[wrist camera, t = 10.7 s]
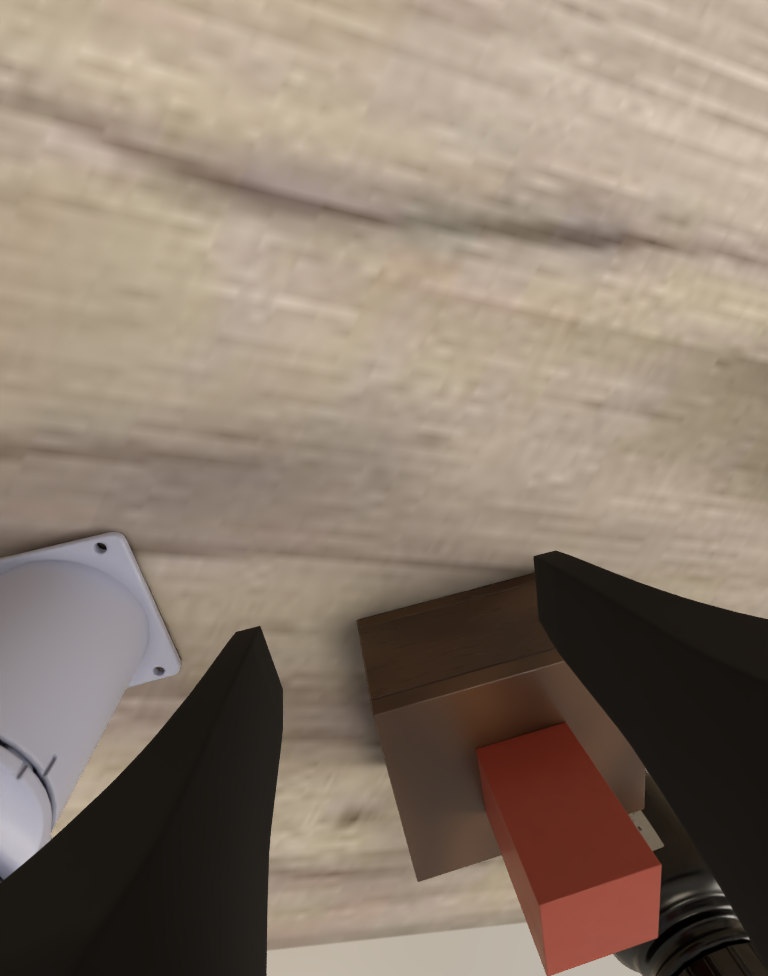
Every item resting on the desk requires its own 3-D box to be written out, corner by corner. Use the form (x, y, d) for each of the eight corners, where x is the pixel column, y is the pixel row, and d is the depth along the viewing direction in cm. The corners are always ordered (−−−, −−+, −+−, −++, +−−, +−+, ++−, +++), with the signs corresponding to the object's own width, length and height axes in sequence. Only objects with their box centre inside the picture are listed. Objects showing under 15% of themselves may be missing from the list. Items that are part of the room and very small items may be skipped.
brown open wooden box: (394, 764, 27) (417, 882, 21) (356, 619, 23) (372, 715, 17) (574, 710, 28) (645, 809, 22) (567, 564, 24) (649, 636, 18)
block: (485, 812, 20) (547, 977, 15) (475, 748, 19) (539, 906, 14) (570, 786, 21) (658, 938, 15) (566, 721, 19) (662, 864, 14)
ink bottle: (579, 760, 30) (744, 1017, 18) (685, 762, 32) (892, 995, 20) (535, 859, 32) (654, 1134, 21) (635, 855, 34) (793, 1106, 23)
